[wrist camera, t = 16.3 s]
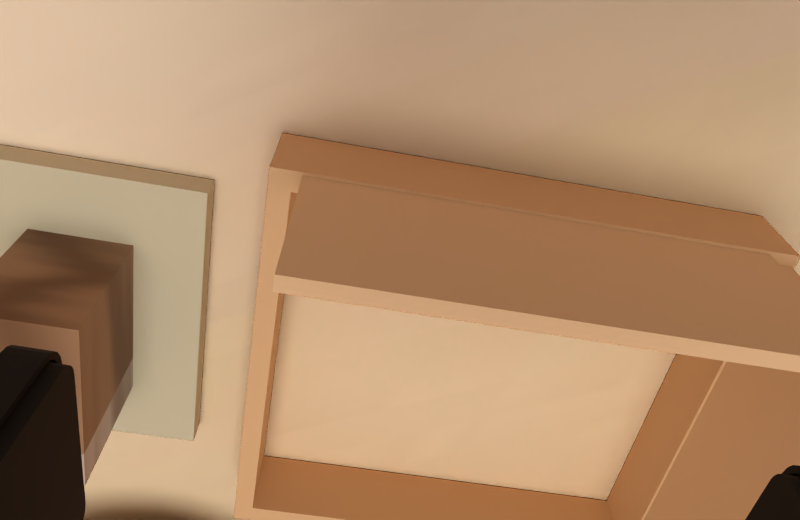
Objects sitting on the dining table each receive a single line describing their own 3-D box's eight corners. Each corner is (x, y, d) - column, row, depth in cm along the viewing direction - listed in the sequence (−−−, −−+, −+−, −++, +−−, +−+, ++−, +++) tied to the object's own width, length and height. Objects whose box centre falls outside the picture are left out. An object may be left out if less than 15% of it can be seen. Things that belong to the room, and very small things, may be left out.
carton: (762, 216, 36) (908, 369, 26) (616, 513, 47) (677, 704, 37) (282, 132, 34) (231, 263, 24) (246, 465, 45) (200, 654, 35)
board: (214, 179, 35) (207, 193, 34) (199, 423, 43) (193, 441, 42) (-44, 137, 34) (-61, 149, 33) (-10, 394, 42) (-23, 412, 41)
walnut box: (133, 245, 35) (78, 330, 29) (132, 386, 40) (85, 485, 34) (27, 228, 35) (-51, 311, 29) (38, 373, 39) (-27, 471, 33)
